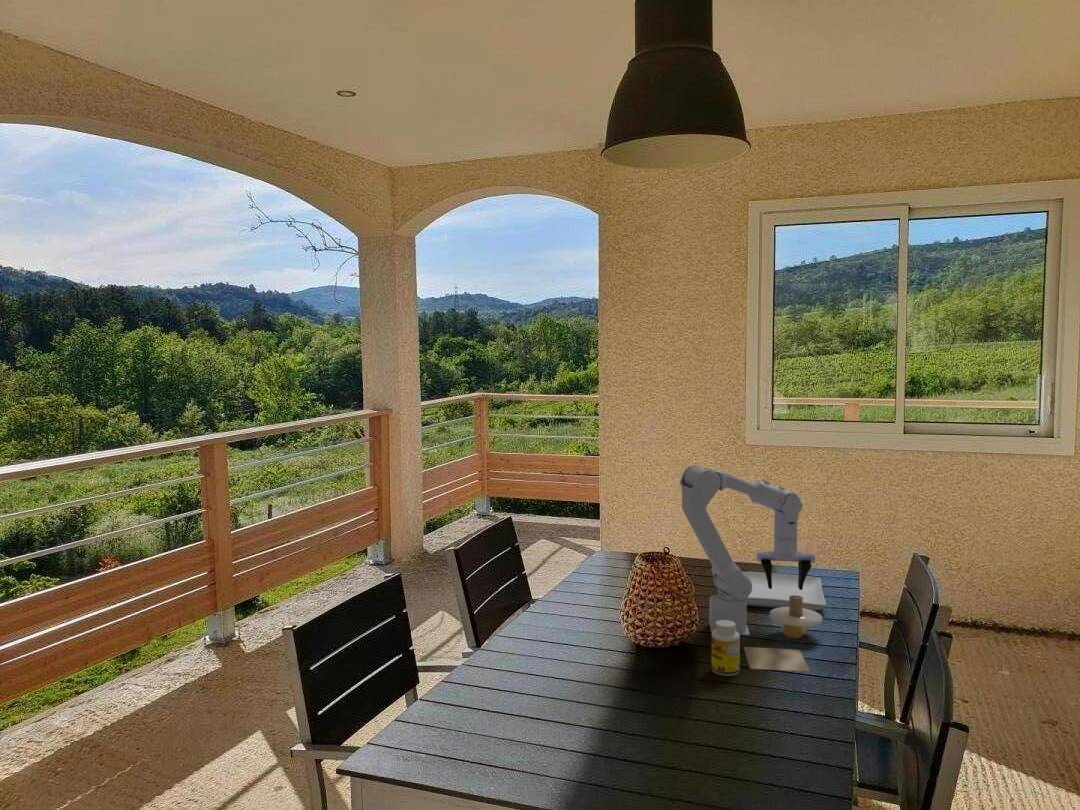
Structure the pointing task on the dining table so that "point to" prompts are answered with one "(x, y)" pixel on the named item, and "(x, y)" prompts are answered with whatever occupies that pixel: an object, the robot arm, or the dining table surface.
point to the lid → (796, 614)
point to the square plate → (784, 591)
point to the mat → (775, 659)
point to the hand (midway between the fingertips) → (785, 588)
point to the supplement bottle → (725, 648)
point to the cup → (793, 630)
